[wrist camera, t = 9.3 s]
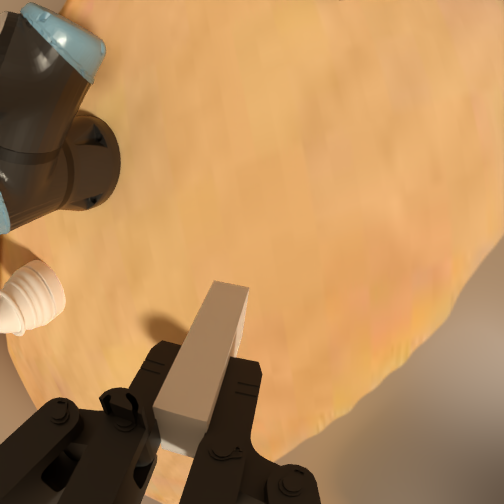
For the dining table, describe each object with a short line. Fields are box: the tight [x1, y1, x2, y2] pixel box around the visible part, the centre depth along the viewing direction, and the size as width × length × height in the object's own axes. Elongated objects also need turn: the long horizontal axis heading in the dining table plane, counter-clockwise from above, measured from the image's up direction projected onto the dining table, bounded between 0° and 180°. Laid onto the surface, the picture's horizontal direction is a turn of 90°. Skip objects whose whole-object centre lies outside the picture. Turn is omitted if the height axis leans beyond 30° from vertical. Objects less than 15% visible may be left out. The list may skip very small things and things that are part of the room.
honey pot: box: [0, 260, 66, 336], centre depth 47 cm, size 13×13×18 cm
